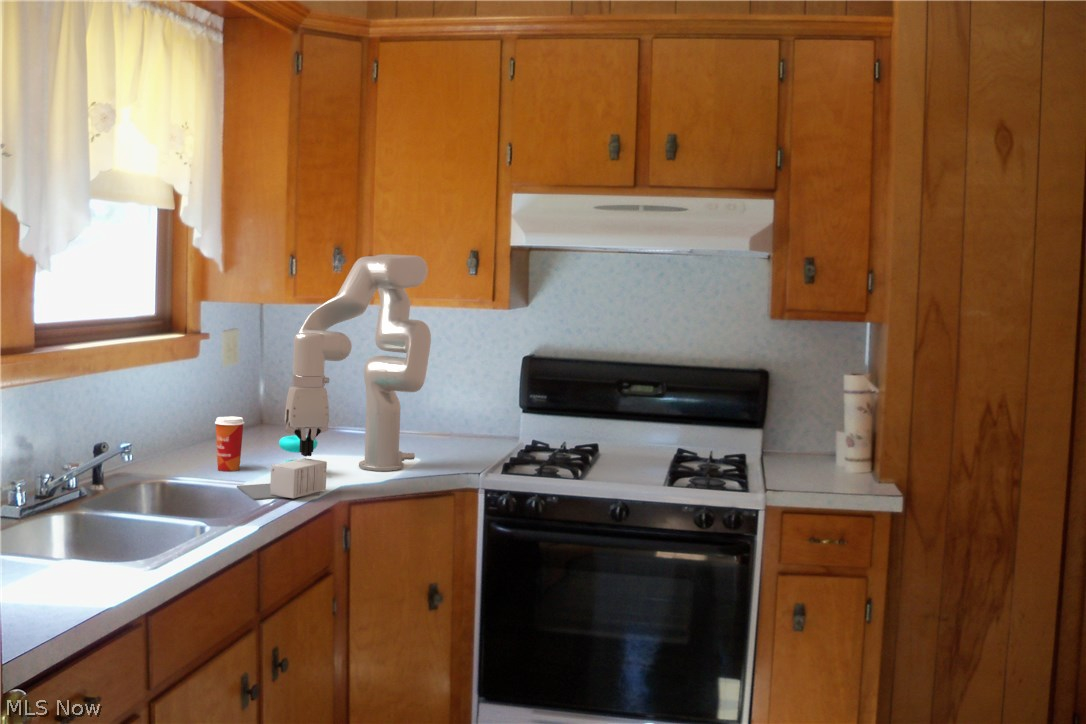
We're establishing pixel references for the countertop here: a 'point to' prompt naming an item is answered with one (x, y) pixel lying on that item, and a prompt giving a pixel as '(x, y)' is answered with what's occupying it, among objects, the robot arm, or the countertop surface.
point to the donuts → (292, 444)
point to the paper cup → (229, 442)
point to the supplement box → (298, 478)
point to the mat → (261, 491)
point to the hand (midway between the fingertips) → (306, 455)
